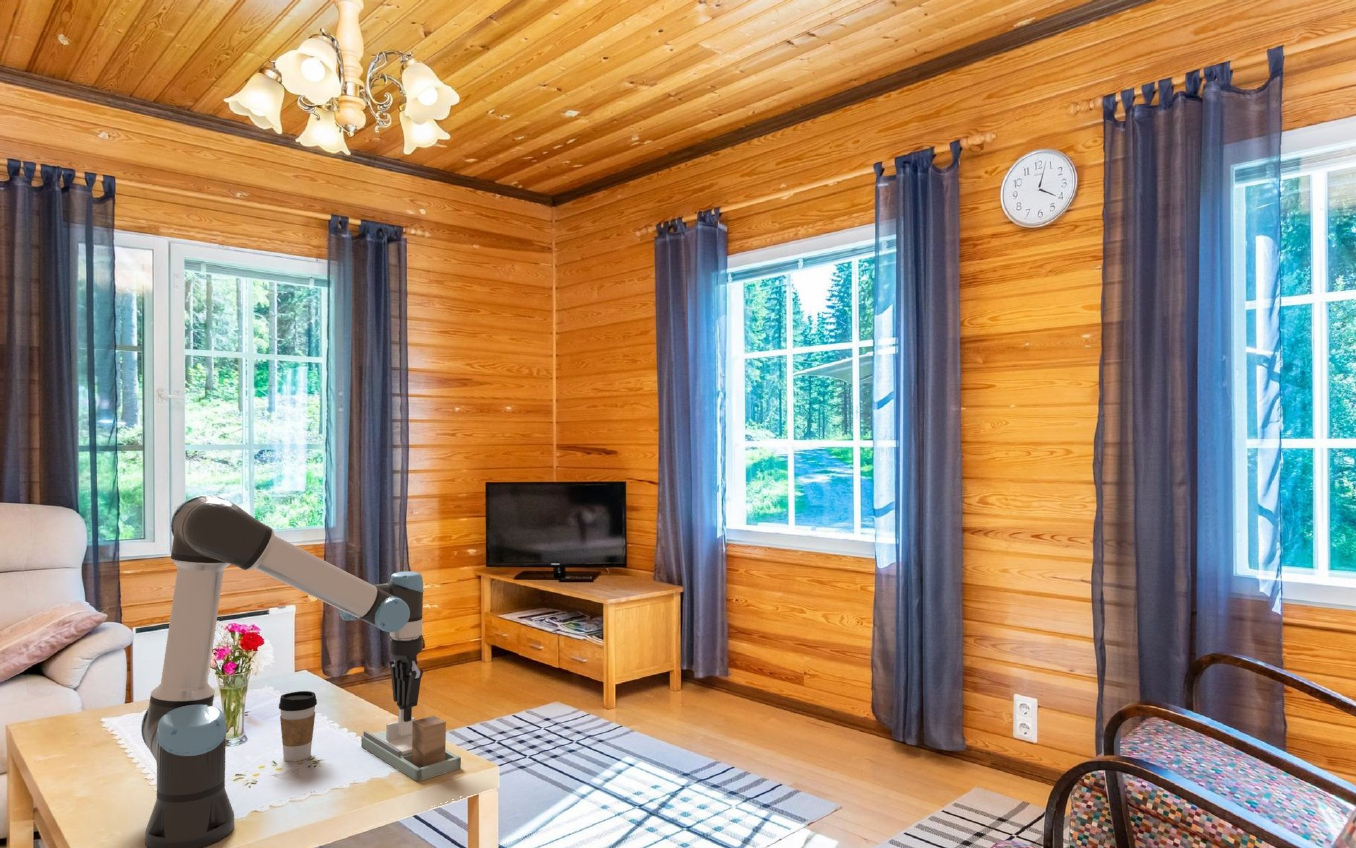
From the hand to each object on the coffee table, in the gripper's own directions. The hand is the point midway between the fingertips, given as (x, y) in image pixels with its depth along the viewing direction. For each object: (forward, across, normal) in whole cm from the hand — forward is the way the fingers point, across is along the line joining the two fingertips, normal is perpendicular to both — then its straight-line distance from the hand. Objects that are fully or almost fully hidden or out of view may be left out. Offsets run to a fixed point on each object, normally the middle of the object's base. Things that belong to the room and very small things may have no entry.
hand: (404, 733), depth 210 cm
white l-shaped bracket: (+2, -2, 0) cm, 3 cm away
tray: (+5, -3, 0) cm, 6 cm away
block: (+5, -12, 0) cm, 13 cm away
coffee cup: (+5, +15, +20) cm, 25 cm away
